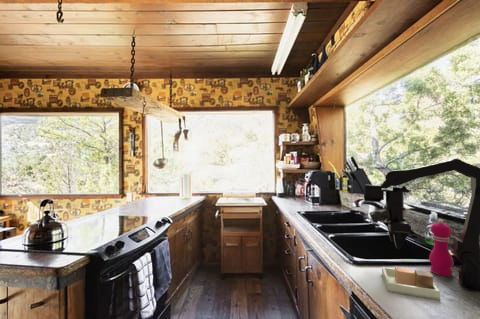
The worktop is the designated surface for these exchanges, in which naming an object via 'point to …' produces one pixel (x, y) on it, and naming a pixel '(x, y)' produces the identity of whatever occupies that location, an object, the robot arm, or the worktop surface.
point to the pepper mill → (441, 249)
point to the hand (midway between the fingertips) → (395, 245)
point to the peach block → (405, 276)
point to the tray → (407, 286)
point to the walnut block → (423, 279)
